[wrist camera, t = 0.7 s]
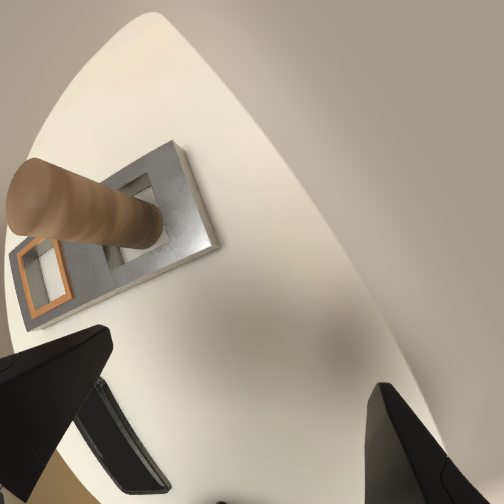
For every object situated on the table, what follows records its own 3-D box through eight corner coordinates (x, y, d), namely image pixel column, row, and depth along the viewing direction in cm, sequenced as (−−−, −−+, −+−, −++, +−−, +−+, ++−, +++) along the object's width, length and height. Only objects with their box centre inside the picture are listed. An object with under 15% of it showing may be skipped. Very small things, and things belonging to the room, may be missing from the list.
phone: (97, 375, 24) (172, 493, 22) (103, 372, 25) (176, 487, 23) (56, 389, 25) (123, 494, 23) (62, 387, 26) (127, 490, 24)
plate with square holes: (183, 150, 24) (170, 138, 21) (220, 247, 23) (210, 245, 20) (23, 254, 27) (6, 253, 24) (42, 329, 26) (25, 332, 23)
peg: (147, 258, 24) (25, 250, 11) (116, 233, 24) (-1, 212, 12) (171, 217, 24) (58, 176, 11) (138, 194, 24) (27, 147, 11)
